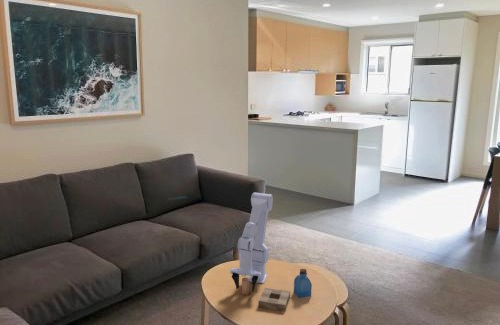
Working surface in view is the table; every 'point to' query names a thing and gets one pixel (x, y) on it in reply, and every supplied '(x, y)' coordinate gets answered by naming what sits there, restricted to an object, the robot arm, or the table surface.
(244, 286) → the peg
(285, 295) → the socket
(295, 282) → the perfume bottle
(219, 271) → the table surface
